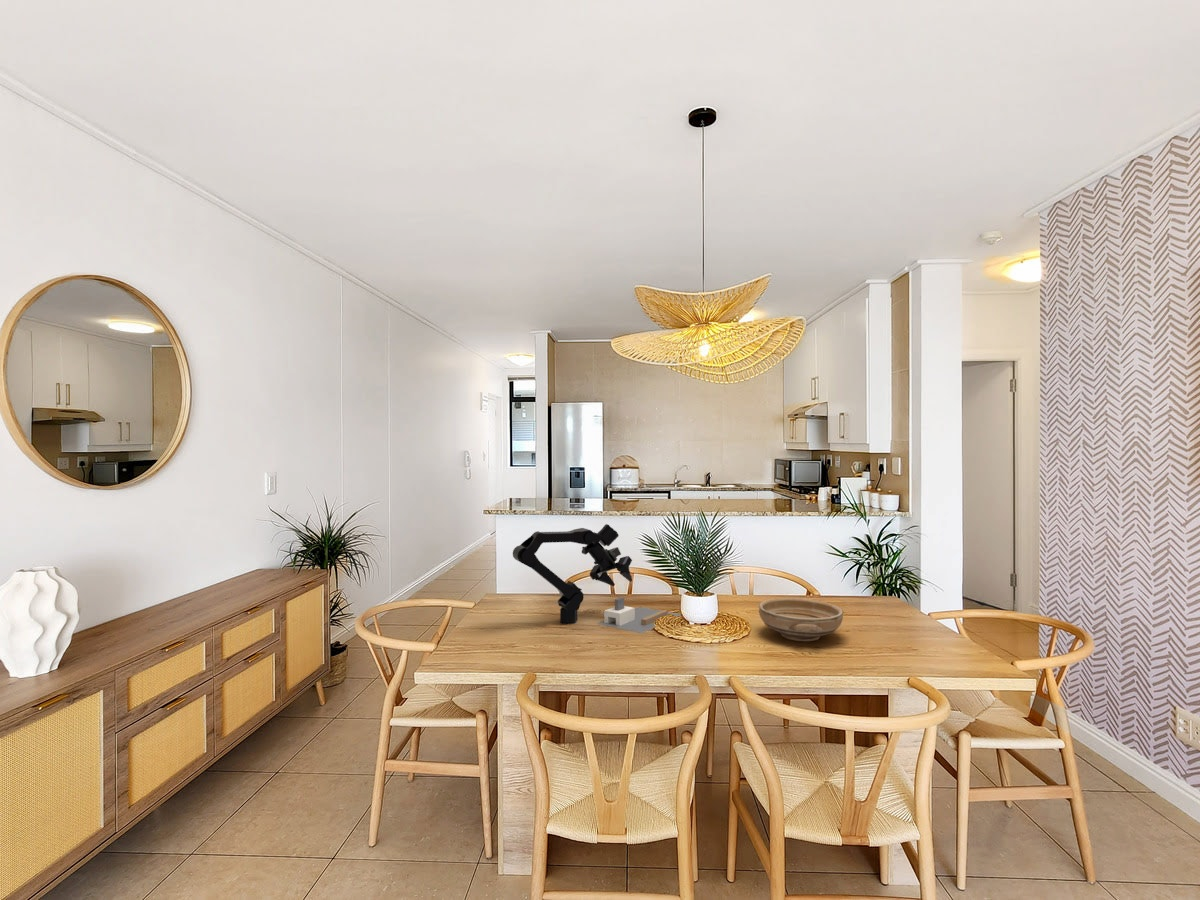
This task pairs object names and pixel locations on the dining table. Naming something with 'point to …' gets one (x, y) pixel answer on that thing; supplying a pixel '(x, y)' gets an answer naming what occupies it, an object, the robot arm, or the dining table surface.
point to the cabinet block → (619, 613)
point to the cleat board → (637, 621)
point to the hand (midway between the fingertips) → (622, 583)
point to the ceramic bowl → (800, 617)
